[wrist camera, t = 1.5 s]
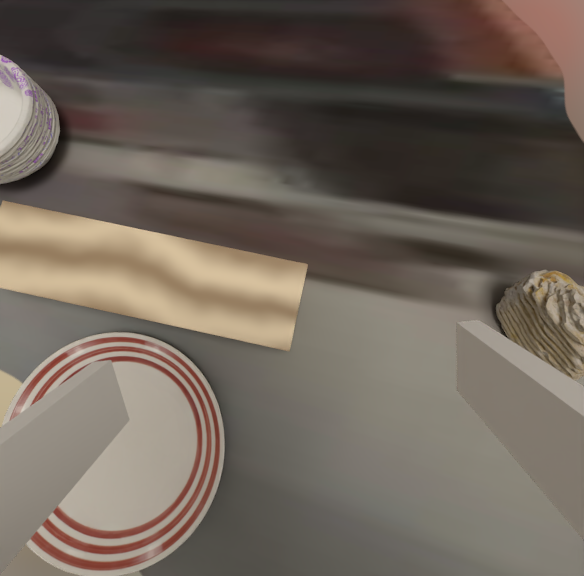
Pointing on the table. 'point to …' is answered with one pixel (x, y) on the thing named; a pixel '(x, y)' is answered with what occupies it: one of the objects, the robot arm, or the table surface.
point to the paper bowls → (24, 124)
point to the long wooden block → (150, 275)
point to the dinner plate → (133, 458)
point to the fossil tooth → (547, 319)
